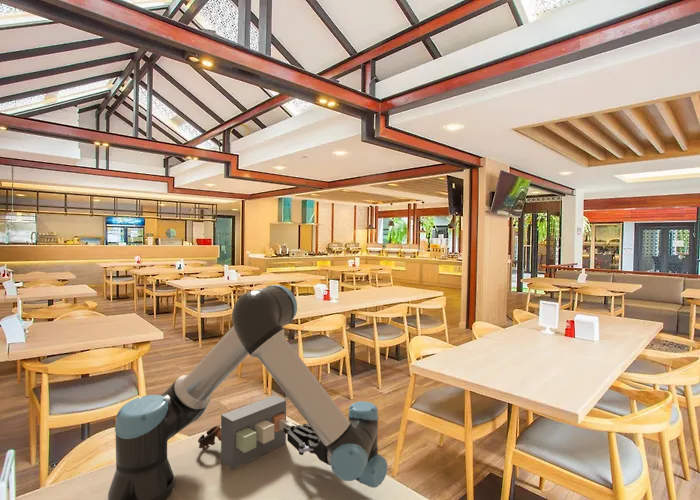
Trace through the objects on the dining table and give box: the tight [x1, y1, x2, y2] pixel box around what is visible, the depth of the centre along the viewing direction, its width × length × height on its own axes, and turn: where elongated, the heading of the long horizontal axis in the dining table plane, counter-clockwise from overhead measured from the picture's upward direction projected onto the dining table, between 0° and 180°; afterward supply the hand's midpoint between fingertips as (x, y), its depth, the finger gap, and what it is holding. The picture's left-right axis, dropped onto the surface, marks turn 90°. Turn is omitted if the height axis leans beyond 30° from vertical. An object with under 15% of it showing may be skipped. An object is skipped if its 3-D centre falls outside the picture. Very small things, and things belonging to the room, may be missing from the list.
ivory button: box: [255, 419, 274, 444], centre depth 118 cm, size 4×5×4 cm
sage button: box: [236, 427, 256, 453], centre depth 113 cm, size 4×5×4 cm
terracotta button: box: [272, 413, 285, 432], centre depth 124 cm, size 4×5×4 cm
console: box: [220, 395, 287, 470], centre depth 121 cm, size 20×6×14 cm, turn 139°
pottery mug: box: [197, 424, 221, 451], centre depth 123 cm, size 12×10×8 cm
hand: (280, 423), depth 123 cm, fingers closed
